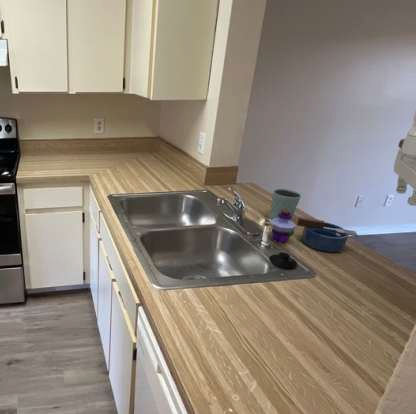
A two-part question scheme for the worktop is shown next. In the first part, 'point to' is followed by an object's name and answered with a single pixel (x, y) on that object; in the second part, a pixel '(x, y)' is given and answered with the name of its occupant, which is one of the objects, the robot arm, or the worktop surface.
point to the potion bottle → (282, 226)
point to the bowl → (324, 238)
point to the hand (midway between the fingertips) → (405, 198)
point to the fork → (322, 226)
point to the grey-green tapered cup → (283, 202)
